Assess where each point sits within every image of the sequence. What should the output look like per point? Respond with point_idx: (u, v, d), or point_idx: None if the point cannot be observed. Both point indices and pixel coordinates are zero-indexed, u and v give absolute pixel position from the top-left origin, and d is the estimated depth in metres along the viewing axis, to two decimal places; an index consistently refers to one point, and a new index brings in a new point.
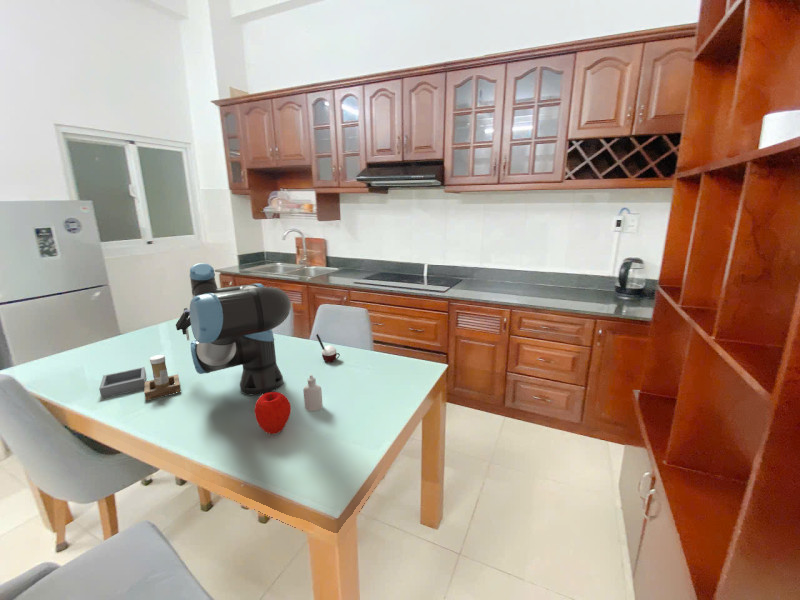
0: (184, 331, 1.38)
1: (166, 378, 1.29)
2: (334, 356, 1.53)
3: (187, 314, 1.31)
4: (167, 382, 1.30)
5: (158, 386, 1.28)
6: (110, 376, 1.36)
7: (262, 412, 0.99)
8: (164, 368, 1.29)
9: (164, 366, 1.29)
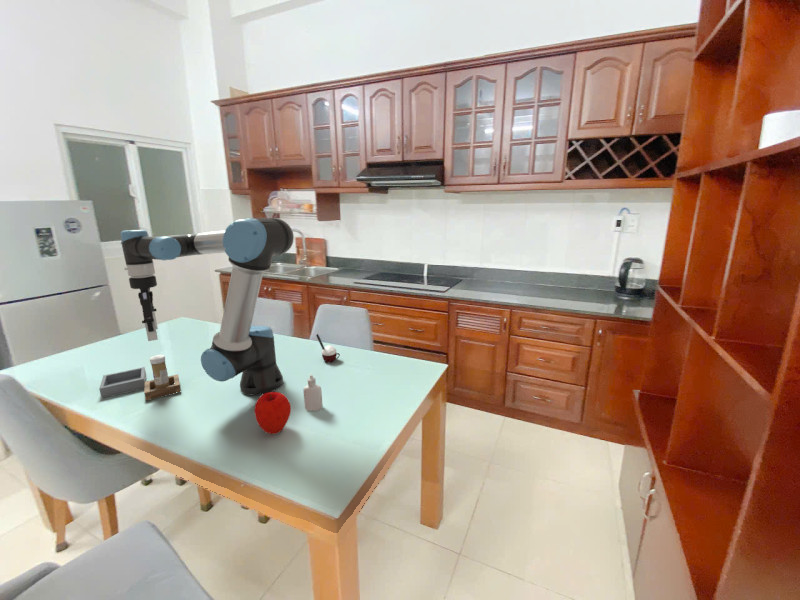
0: (152, 325, 1.19)
1: (166, 378, 1.29)
2: (334, 356, 1.53)
3: (149, 295, 1.18)
4: (167, 382, 1.30)
5: (158, 386, 1.28)
6: (110, 376, 1.36)
7: (262, 412, 0.99)
8: (164, 368, 1.29)
9: (164, 366, 1.29)
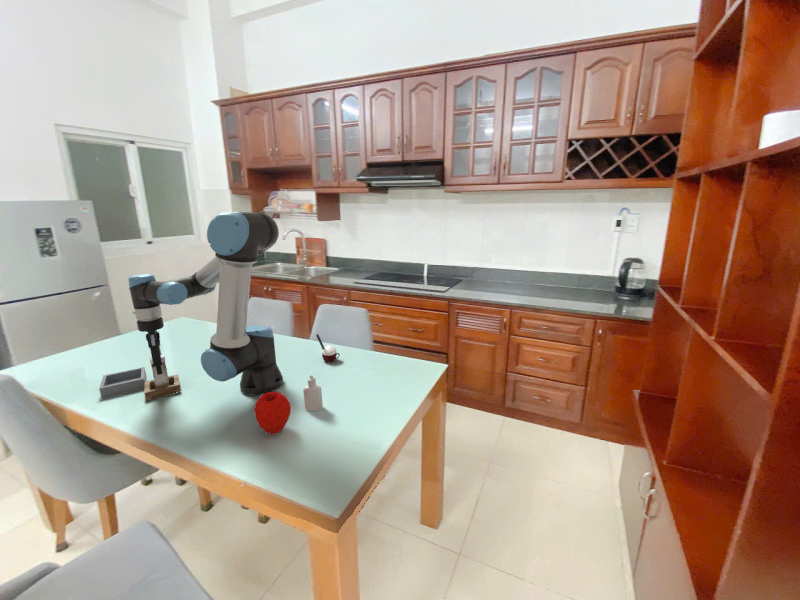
0: (161, 368, 1.26)
1: (166, 378, 1.29)
2: (334, 356, 1.53)
3: None
4: (167, 382, 1.30)
5: (158, 386, 1.28)
6: (110, 376, 1.36)
7: (262, 412, 0.99)
8: (164, 368, 1.29)
9: (164, 366, 1.29)
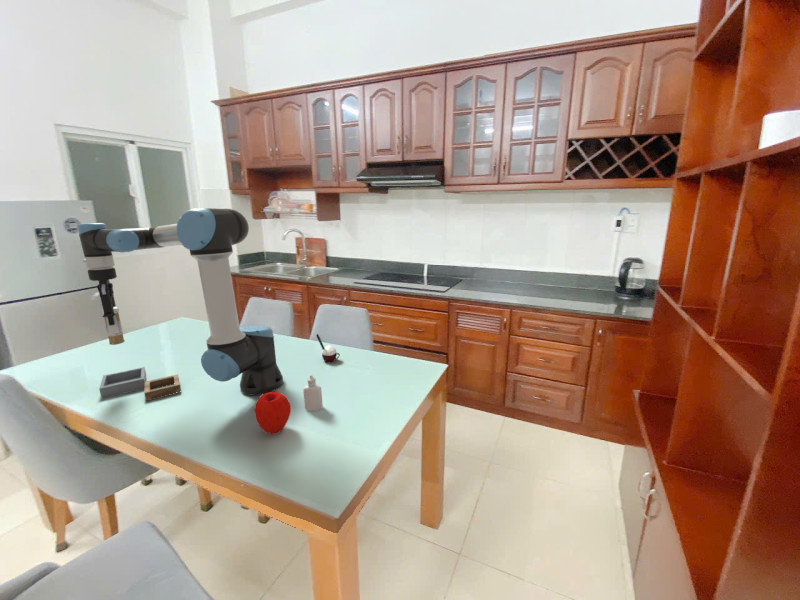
0: (113, 319, 1.26)
1: (119, 330, 1.29)
2: (334, 356, 1.53)
3: None
4: (121, 334, 1.30)
5: (111, 338, 1.28)
6: (110, 376, 1.36)
7: (262, 412, 0.99)
8: (117, 320, 1.28)
9: (117, 318, 1.28)
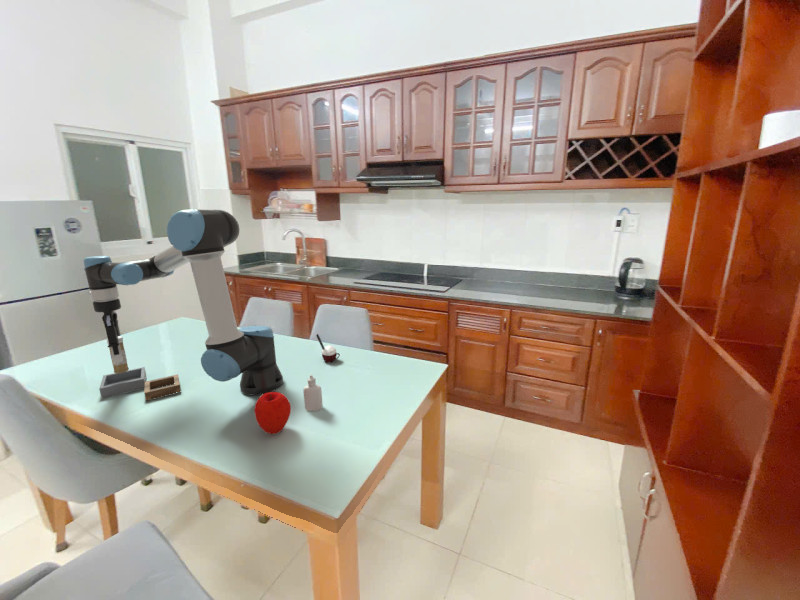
0: (118, 349, 1.29)
1: (123, 359, 1.32)
2: (334, 356, 1.53)
3: (113, 321, 1.25)
4: (125, 363, 1.33)
5: (115, 366, 1.31)
6: (110, 376, 1.36)
7: (262, 412, 0.99)
8: (122, 349, 1.31)
9: (122, 347, 1.31)
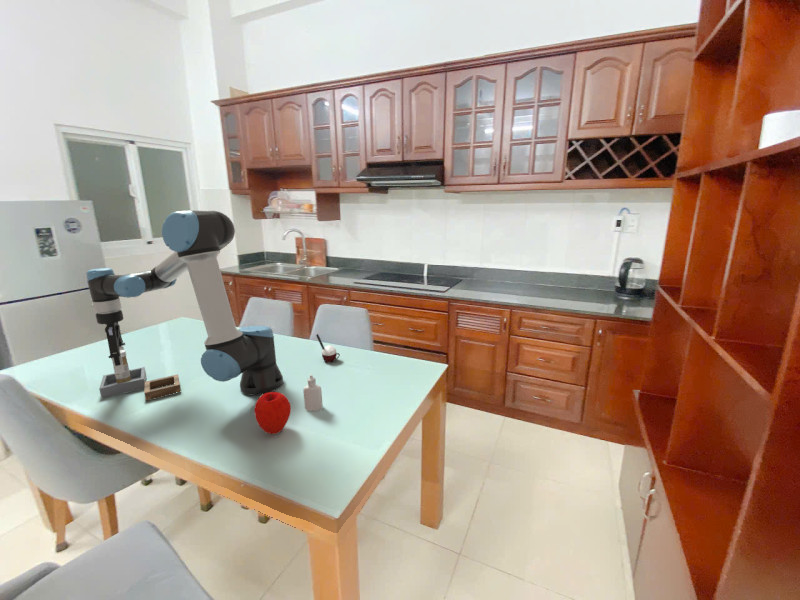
0: (119, 359, 1.27)
1: (126, 373, 1.33)
2: (334, 356, 1.53)
3: (115, 331, 1.25)
4: (128, 376, 1.34)
5: (119, 380, 1.32)
6: (110, 376, 1.36)
7: (262, 412, 0.99)
8: (125, 363, 1.32)
9: (125, 361, 1.32)
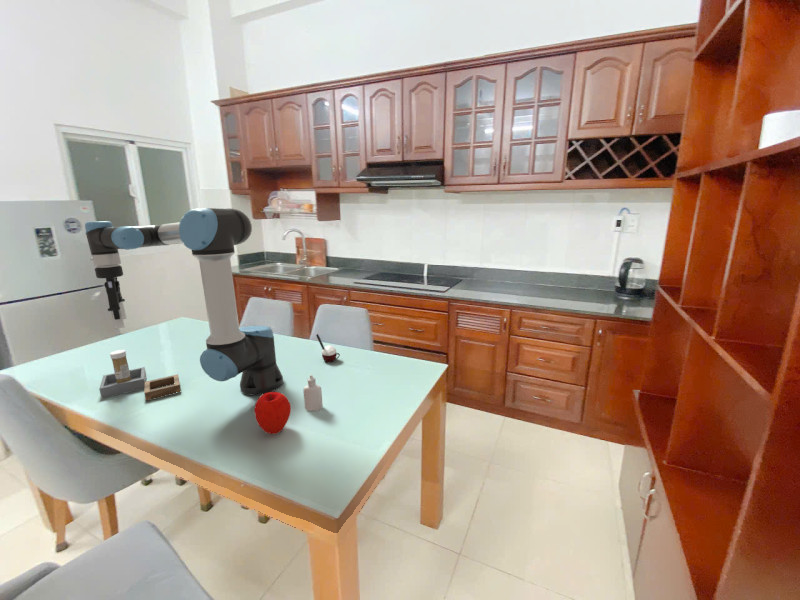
0: (119, 313, 1.23)
1: (126, 373, 1.33)
2: (334, 356, 1.53)
3: (114, 283, 1.22)
4: (128, 376, 1.34)
5: (119, 380, 1.32)
6: (110, 376, 1.36)
7: (262, 412, 0.99)
8: (125, 363, 1.32)
9: (125, 361, 1.32)
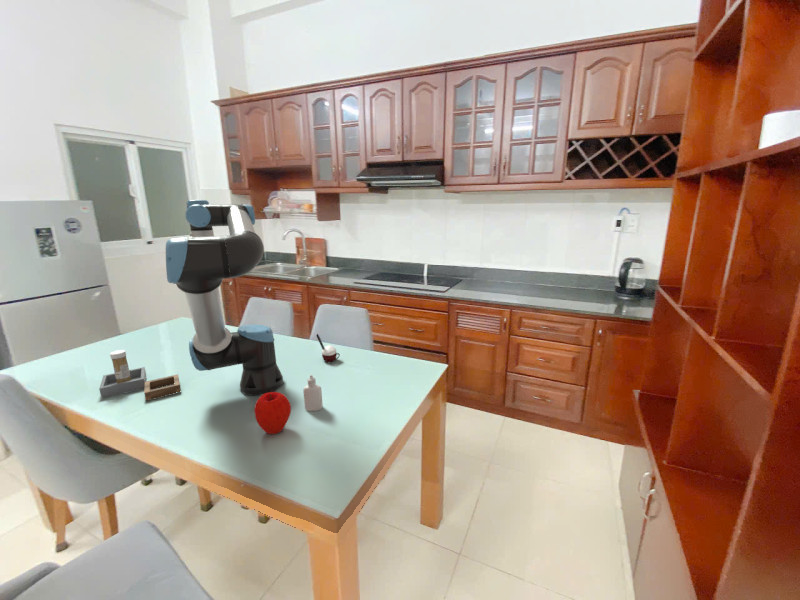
0: None
1: (126, 373, 1.33)
2: (334, 356, 1.53)
3: None
4: (128, 376, 1.34)
5: (119, 380, 1.32)
6: (110, 376, 1.36)
7: (262, 412, 0.99)
8: (125, 363, 1.32)
9: (125, 361, 1.32)
